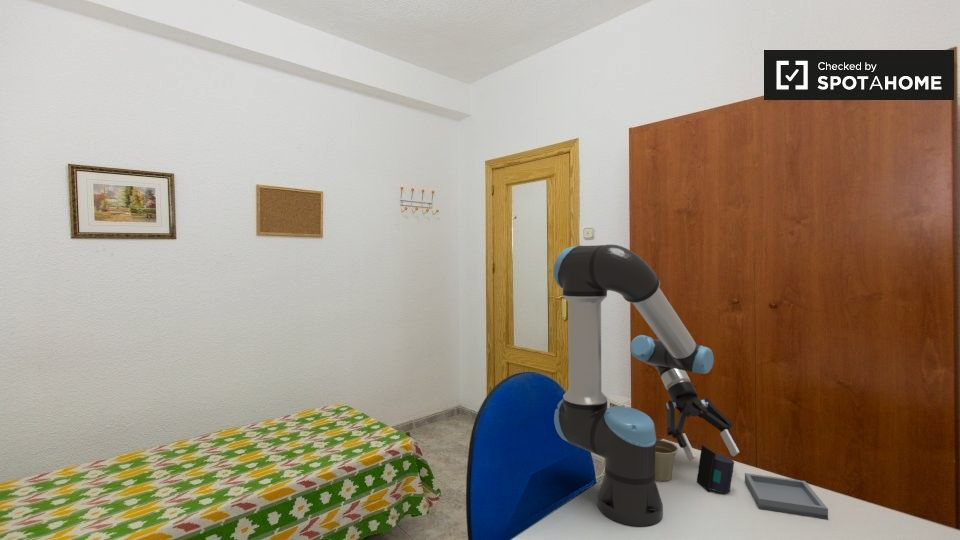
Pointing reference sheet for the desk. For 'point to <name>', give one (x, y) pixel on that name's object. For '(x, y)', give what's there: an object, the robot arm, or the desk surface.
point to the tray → (785, 496)
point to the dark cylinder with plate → (714, 471)
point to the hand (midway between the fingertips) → (714, 456)
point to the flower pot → (664, 459)
